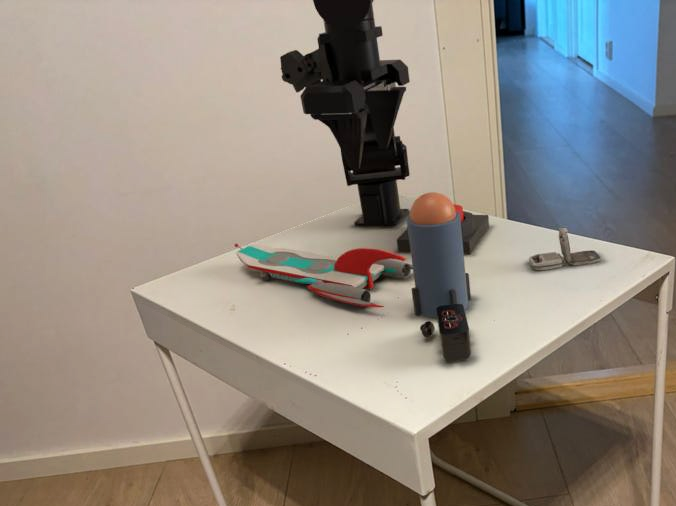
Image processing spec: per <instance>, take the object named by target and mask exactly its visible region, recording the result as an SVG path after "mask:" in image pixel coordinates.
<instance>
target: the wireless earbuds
mask: <svg viewBox="0 0 676 506" xmlns="http://www.w3.org/2000/svg"><path fill="white" fill-rule="evenodd" d="M436 312H437V318H436V319H437V326H438V327H437V328H438V335H439V341H440V348H441V352H442V358H443V359H444V361H446V362H447V363H451V362H459V361H467V360H469V359H470V358H471V356H472V345H471V335H470V333H471V332H470V326H469V323H468V322H469V321H468V319H467V315H466V310H464V306H463V305H462V304H451V305H443V306H439V307H437V308H436ZM419 329H420V332H421V334H422V337H424V338H431V337H432V336H433V334H434V333H435V331H436V327H435V325H434V323H433V322H432V321H431V320H427V321H425V322H424V323H422V324H421V325H420V327H419Z"/></svg>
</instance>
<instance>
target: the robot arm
mask: <svg viewBox="0 0 676 506" xmlns="http://www.w3.org/2000/svg"><path fill="white" fill-rule="evenodd" d="M374 1H375V0H312V2H313V5H314V9H315V10H316V12H317V14H318V15H319V17H320V18H321V19H322V20H323V26H324V32H321V33H318V37H317V39H316V40H317V45H318V48H317V49H315V50H313V51H311V52H309V53H306V54H302V53H301V52H300V51H299V50H298V49H294V50H290V51H288V52H286V53H285V54H283V55H280V57H279V60H280V70H281V80H282V81H283V82H284V83H287V84H289V85H292V88H293V89H294V91H295V93H300V92H301V91H302V92H301V94H300V95H299V96H300V102H301V107H302V112H303V114H304V115H310V117H311V119H313V120H315V121H319V122H320V123H322V124H324V125H325V127H326V126H327V128H328V129H329V130H330V132H331V133H332V135H333V137H334V139H335V141H336V143H337V144H338V146H339V148H340V149H339V150H340V155H341V162H342V167H343V172H344V176H345V177H344V178H345V182H346V186H347V187H351V186H355V185H357V191H358V197H359V204H360V209H361V216H359V217H358V218H357V219H356V220H355V221H354V222H353V223H354V226H355V227H387V228H388V227H389V228H391V227H392V228H394V227H396V226H397V225H398V224H399V223H400V222H402V220H404V219H405V217H406V216H408V214H410V209H408V208H401V203H400V202H401V201H400V196H399V188H398V181H400V180H402V181H405V180H406V178H408V177H410V175H411V174H410V167H409V159H408V150H407V145H406V144H404V143H403V140H401V135H395V125H396V120H397V117H398V113H399V111H400V107H401V104H402V101H403V98H404V94H405V93H406V91H407V86H405V85H408V84H409V83H410V82H411V79H410V73H409V66H408V65H407V64H406V63H405V62H404V61H403V60H401V59H381V57H380V51H379V44H378V38H380V37H383V35H384V34H383V27H382V26H381V25H380V26H376V21H375V14H374V7H373V3H374ZM396 84H397V86H396ZM396 166H399V167H396Z"/></svg>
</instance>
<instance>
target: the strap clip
mask: <svg viewBox="0 0 676 506" xmlns="http://www.w3.org/2000/svg"><path fill="white" fill-rule="evenodd" d="M568 233H569V231H568V229H567V228H566V227H560V228H558V240H559V246H560V251H561V253H560V252H556V251H552V252H545V253H543V252H542V253H537V254H534V255H531V256H529V258H528V262H529V264H530V266H531V267H532V269H533V270H535V271H546V270H547V271H548V270H552V269H559V268H562V267H563V266H564V265H565V263H564V261H566V262H567V264H569V265H572V266H579V265H580V266H582V265H589V264H595V263H597V262H599V261H601V255H599V254H598V253H597V251H596V250H583V251H575V252H571V246H570V245H571V244H570V240H569V236H568ZM589 255H593V256H594V257H593V258H591V257H590V256H589Z"/></svg>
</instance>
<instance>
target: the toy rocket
mask: <svg viewBox="0 0 676 506" xmlns="http://www.w3.org/2000/svg"><path fill="white" fill-rule="evenodd" d="M453 204H454V203H453V202H452V200H450V198H449V197H448V196H446V195H445V194H443V193H440V192H435V191H430V192H425V193H423V194H422V195H419V196H418V197H417V198H416V199H415V201H414V202H413V204H411V208H410V210H409V215H407V217H406V227H407V228H408V235H409V242H410V250H411V252H410V257H411V265H413V269H412V272H413V273H412V274H413V279H414V287H411V296H412V305H413V312H414V316H416V317H418V316H421V315H422V316H424V317H425V318H430V319H437V312H436V308H437V307H439V306H443V305H451V304H462V305H463V306H464V310H465V311H467V309H468V307H469V301H471V300H472V296H471V286H470V285H471V283H470V274H469V273H468V272H466V266H465V254H464V253H463V242H462V231H461V220H460V214H459V212H457V211H456V210H455V207H454V205H453Z"/></svg>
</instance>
